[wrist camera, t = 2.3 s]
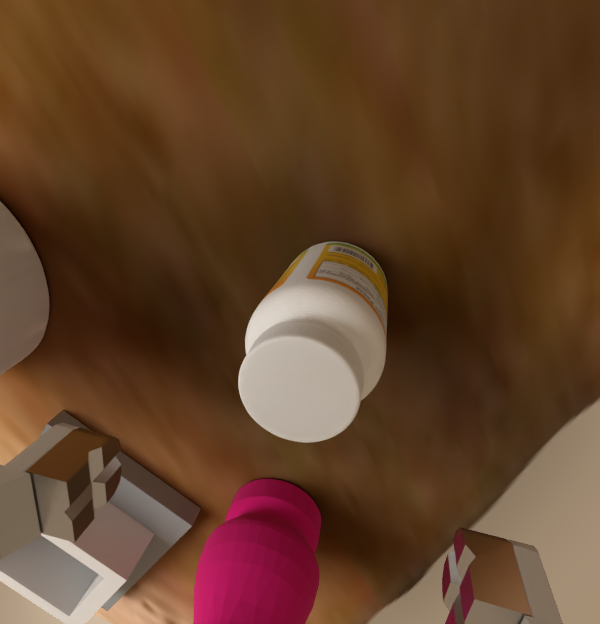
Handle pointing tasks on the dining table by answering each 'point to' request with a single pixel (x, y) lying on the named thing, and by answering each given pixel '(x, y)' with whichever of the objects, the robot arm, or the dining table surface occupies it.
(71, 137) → the dining table surface
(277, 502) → the pepper mill
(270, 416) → the supplement bottle
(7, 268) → the utensil holder
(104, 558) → the docking board
